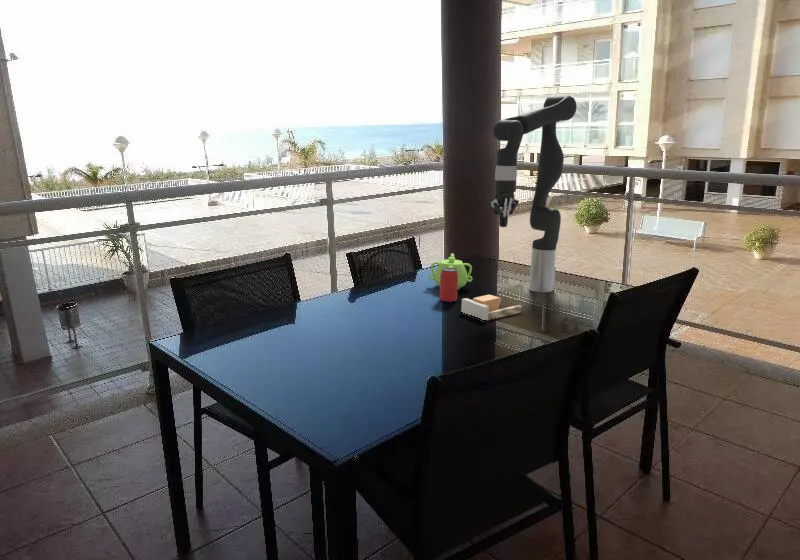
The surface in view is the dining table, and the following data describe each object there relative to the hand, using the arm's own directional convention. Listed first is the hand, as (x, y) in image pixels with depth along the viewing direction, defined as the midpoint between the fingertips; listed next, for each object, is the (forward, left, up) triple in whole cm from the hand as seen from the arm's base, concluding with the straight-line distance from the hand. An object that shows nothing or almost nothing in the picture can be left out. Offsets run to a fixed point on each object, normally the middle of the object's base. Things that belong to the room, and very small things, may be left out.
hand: (503, 226), depth 210 cm
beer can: (+15, -12, -29) cm, 34 cm away
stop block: (+20, +8, -28) cm, 36 cm away
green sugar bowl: (+2, -26, -29) cm, 38 cm away
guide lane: (+11, +8, -28) cm, 31 cm away
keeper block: (+15, +9, -29) cm, 33 cm away
